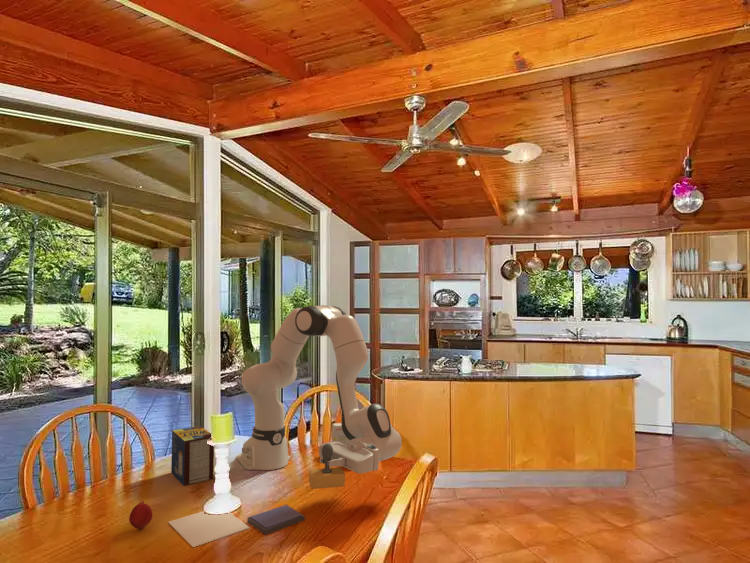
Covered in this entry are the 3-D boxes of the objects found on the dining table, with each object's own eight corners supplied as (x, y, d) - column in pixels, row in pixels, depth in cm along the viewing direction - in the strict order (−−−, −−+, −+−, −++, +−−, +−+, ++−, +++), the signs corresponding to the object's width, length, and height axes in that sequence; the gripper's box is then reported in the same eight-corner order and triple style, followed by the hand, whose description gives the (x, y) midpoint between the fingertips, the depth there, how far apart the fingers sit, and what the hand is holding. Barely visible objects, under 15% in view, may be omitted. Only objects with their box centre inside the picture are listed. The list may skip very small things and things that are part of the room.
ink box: (351, 450, 206) (352, 421, 206) (354, 454, 201) (354, 425, 201) (331, 451, 204) (332, 422, 204) (333, 455, 199) (334, 426, 199)
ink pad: (247, 521, 141) (247, 516, 141) (286, 508, 150) (286, 503, 150) (265, 534, 134) (265, 529, 134) (304, 520, 143) (304, 515, 143)
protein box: (199, 466, 184) (200, 425, 184) (213, 479, 172) (214, 435, 172) (170, 472, 178) (171, 429, 178) (183, 486, 166) (184, 440, 166)
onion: (127, 535, 132) (127, 506, 132) (131, 525, 138) (131, 497, 138) (150, 533, 134) (151, 503, 134) (153, 523, 140) (154, 495, 140)
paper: (167, 522, 140) (167, 521, 140) (221, 506, 151) (221, 505, 151) (193, 548, 127) (193, 547, 127) (249, 528, 137) (249, 527, 137)
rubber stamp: (310, 489, 142) (311, 447, 142) (308, 481, 148) (309, 441, 148) (344, 486, 144) (345, 446, 144) (341, 479, 150) (342, 440, 150)
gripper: (339, 434, 162) (305, 442, 153) (382, 450, 147) (346, 461, 138) (339, 453, 162) (304, 462, 153) (381, 471, 147) (345, 483, 138)
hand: (324, 462), depth 145 cm, fingers closed on rubber stamp, 2 cm apart
